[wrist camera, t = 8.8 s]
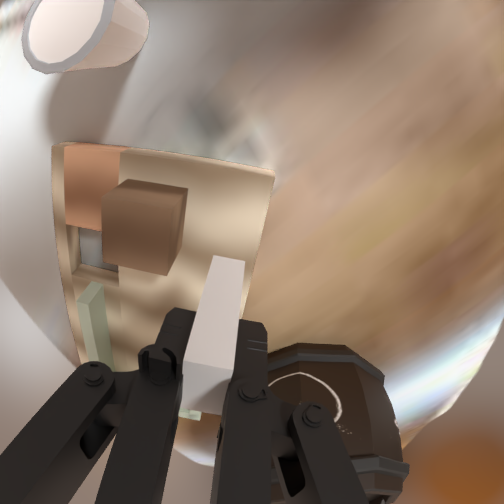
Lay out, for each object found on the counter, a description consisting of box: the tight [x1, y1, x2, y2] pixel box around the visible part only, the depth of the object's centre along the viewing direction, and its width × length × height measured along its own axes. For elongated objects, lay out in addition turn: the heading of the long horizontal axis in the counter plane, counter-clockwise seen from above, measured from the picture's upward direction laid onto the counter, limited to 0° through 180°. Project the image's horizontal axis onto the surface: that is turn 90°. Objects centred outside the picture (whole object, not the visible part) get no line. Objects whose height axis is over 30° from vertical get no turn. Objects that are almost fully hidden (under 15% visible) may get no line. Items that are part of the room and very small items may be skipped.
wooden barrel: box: [267, 343, 409, 504], centre depth 26 cm, size 18×18×16 cm
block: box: [101, 179, 188, 276], centre depth 19 cm, size 4×4×4 cm
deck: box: [52, 141, 275, 372], centre depth 26 cm, size 25×17×2 cm
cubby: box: [76, 281, 201, 421], centre depth 26 cm, size 14×12×3 cm
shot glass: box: [22, 0, 150, 74], centre depth 13 cm, size 7×7×7 cm
